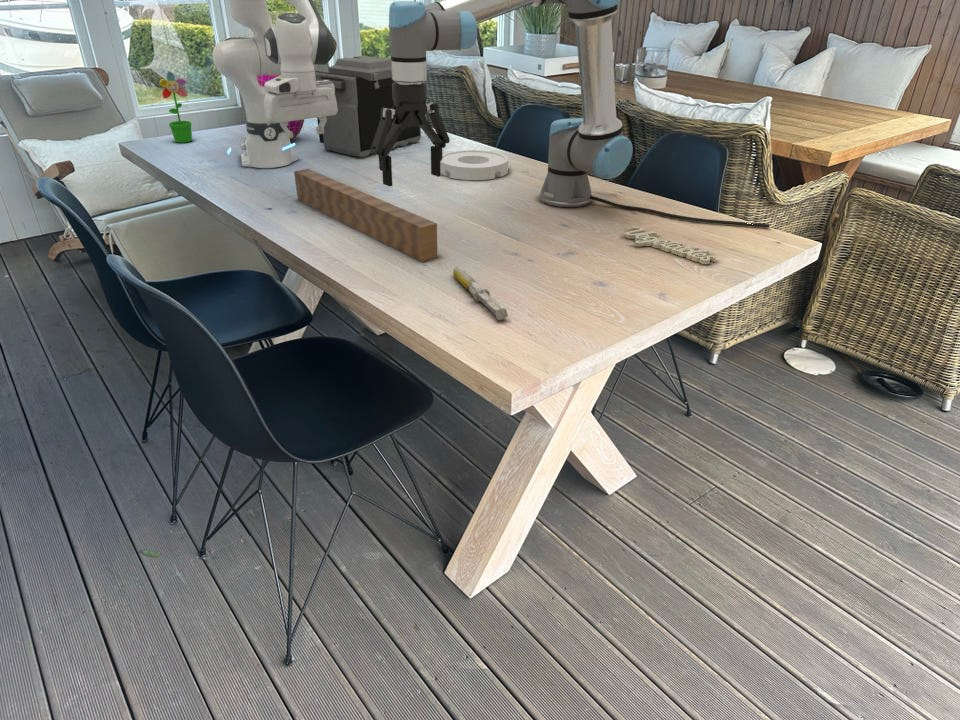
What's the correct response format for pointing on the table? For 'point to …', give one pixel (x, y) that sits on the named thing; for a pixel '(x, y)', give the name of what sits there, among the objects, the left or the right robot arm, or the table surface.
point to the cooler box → (360, 105)
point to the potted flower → (178, 128)
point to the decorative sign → (669, 245)
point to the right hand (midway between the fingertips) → (412, 180)
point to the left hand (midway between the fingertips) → (305, 135)
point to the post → (368, 214)
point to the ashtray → (473, 165)
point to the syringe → (479, 293)
